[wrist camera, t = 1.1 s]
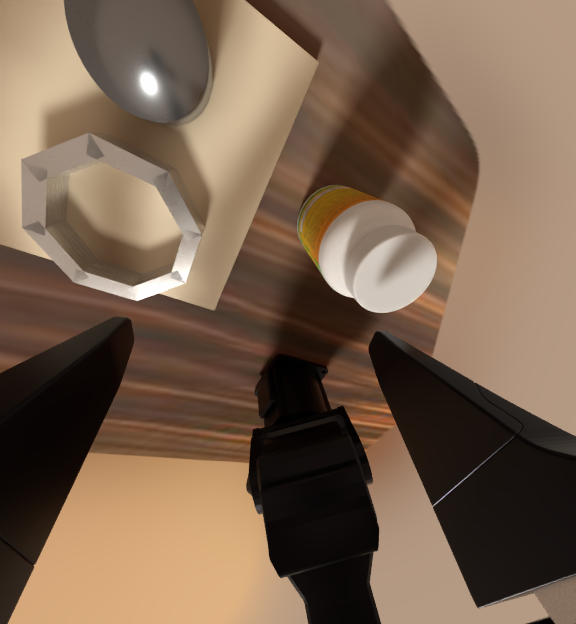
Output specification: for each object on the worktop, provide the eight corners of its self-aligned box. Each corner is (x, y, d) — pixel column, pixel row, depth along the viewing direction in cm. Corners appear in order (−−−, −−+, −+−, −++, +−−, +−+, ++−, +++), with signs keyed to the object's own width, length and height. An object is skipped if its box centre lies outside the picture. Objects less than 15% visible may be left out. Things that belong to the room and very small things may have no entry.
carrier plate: (314, 67, 14) (319, 62, 13) (215, 304, 21) (214, 310, 20) (-20, -209, 9) (-48, -246, 8) (2, 235, 16) (-11, 240, 15)
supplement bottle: (283, 238, 19) (315, 304, 11) (320, 168, 17) (394, 187, 9) (337, 266, 21) (396, 338, 13) (377, 207, 19) (477, 251, 11)
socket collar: (218, 189, 16) (215, 194, 14) (181, 298, 19) (175, 312, 18) (49, 104, 12) (20, 98, 11) (44, 255, 16) (22, 267, 14)
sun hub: (227, 36, 12) (224, 7, 10) (196, 145, 14) (188, 145, 12) (110, -54, 10) (68, -118, 8) (95, 88, 12) (59, 74, 10)
